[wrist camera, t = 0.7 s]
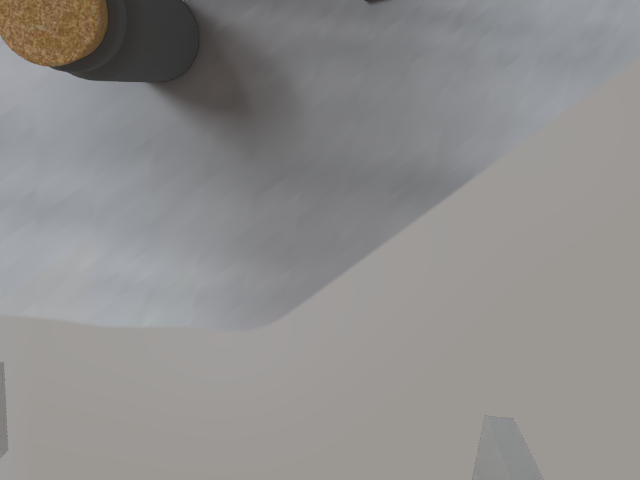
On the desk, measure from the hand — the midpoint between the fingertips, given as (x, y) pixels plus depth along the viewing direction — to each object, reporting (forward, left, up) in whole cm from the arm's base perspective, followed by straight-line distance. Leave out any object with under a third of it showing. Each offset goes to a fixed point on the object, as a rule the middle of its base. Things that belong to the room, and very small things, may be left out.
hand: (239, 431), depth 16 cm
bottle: (-14, -7, -27) cm, 31 cm away
